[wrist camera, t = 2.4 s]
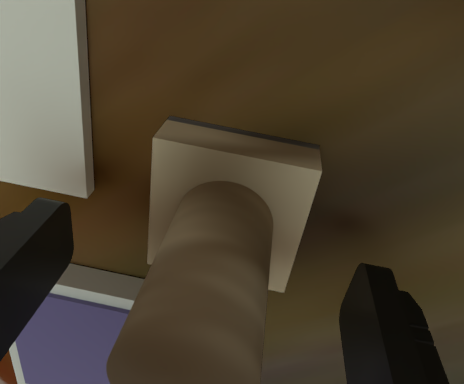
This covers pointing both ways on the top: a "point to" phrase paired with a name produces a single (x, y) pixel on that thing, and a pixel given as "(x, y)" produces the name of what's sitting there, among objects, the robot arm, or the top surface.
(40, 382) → the ink pad
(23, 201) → the top surface
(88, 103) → the sheet
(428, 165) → the top surface
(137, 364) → the stamp
